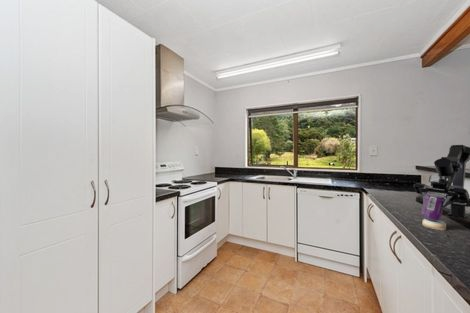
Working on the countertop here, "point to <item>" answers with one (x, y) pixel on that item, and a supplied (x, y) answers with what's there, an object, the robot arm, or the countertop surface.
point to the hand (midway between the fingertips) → (433, 204)
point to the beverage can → (433, 206)
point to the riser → (434, 224)
